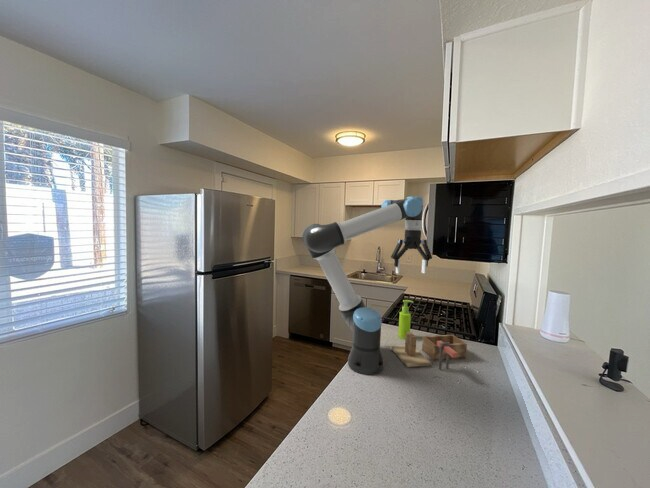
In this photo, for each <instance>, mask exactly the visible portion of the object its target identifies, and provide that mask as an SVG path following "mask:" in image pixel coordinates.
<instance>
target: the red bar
mask: <svg viewBox="0 0 650 488" xmlns="http://www.w3.org/2000/svg"><path fill="white" fill-rule="evenodd" d="M440 343H442V341H437V345H438V346H439V347H440ZM443 350H444V351H445V352H446V353H447V354H449V355H450V356H451V357H452V358H455V357H457V354H458V353H457V352H456V351H454V350H453V349H452V348H450V347H449V346H448V345H443Z"/></svg>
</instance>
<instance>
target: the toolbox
mask: <svg viewBox="0 0 650 488" xmlns="http://www.w3.org/2000/svg"><path fill="white" fill-rule="evenodd" d="M437 341H442V343H440V347H439V346H438V345H437ZM443 345H448V346H449V347H450V348H452V349H453V350H454V351H456V352H457V353H458V354H457V357H455V358H452V357H451V356H450V355H449V354H447V353H446V352H445V351H444V350H443ZM467 347H468V343H466V342H465V341H464V340H462V339H460V338H458V337H457V336H456V335H455V334H440V335H438V334H437V335H424V336H422V345H421V348H422V349H421V351H422V352H424V354H426V355H427V357H429V358H430V359H431V360H432V361H433V362H436V361H437V362H438V367H437V368H438V369H439V371H441V370H442V369H443V368H442V366H443V361H445V369H446V370H449V368H450V361H451V360H453V361H454V360H465V359H466V358H467Z"/></svg>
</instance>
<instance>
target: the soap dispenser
mask: <svg viewBox="0 0 650 488" xmlns="http://www.w3.org/2000/svg"><path fill="white" fill-rule="evenodd" d="M402 303H403V305H402V307H401V311H399V316H398V317H399V318H398V332H397V333H398V334H397V336H398V338H399V339H401V340H405V337H406V332H411V321H412V320H411V317H412V313H411V312H409V311H410V310H409V309H410V307H409V306H408V303H411V304H414V303H415V302H414V301H413V300H410V299H403V300H402Z"/></svg>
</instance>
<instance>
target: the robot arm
mask: <svg viewBox="0 0 650 488" xmlns="http://www.w3.org/2000/svg"><path fill="white" fill-rule="evenodd" d="M423 210H424V199H423V197H422V196H415V195H414V196H407V197H406V198H402V199H384V200H383V201H382V203H381V208H378V209H375V210H371V211H369V212H367V213H363V214H361V215H359V216H356V217H353V218H351V219H350V218H349V219H347V220H345V221H341V222H338V221H334V222H332V223H327V224H320V223H312V224H310V225H308V226H307V227H306V228H304V230H303V232H302V235H301V236H302V237H301V238H302V242H303V244H304V246H305V247H306V248H307V251H308V252H309V254H310V256H311V258H312V259H313V260H316V261H317V262H318V264H319V265H320V268H321V270H322V271H323V273H324V276H325V277H326V279H327V282H328V283H329V286H330V287H331V289H332V291H333V292H334V294H335V296H336V298H337V300H338V302H339V305H338V309H339V311H340V313H341V317H342V319H343V321H344V322H345V323H346V325H347V326H348V327H349V329H350V330H351V331H352V347H351V349H350V351H349V355H348V357H347V366H348V367H349V368H350V369H351V370H352V371H354V372H356V373H359V374H363V375H376V374H379V373H381V372H382V371H383V370H384V364H385V363H384V357H383V354H382V352H381V337H382V336H381V335H382V324H383V323H382V316H381V313H380V312H379V311H378V310H376V309H374V308H371V307H368V306H366V304H365V303H364V300H363V298H362V297H361V296H360V295H357V294H356V292H355V290H354V288H353V286H352V284H351V282H350V280H349V278H348V276H347V274H346V272H345V270H344V268H343V266H342V264H341V262H340V260H339V258H338V256H337V255H336V253H335V249H336V248H338V247H341V246H343V245H345V244H346V242H347V241H349V240H351V239H354V238H356V237H359V236H361V235H364V234H365V235H366V234H367V233H369V232H372V231H375V230H378V229H379V228H382V227H386V226H388V225H390V224H394V223H395V222H398V221H402V220H405V222H404V223H405V224H404V228H405V230H404V239H398V240H397V245H396V246H395V248H394V249H393V252H392V253H391V255H390V259H393V260H394V263H393V265H394V267H395V274H397V275H400V274H401V273H400V272H401V271H400V269H401V268H400V267H401V260H400V259H401V258H402V256H404V254H405V253H406V252H407V251H408V250H417V252H418V253H419V255H421V257H422V258H423V259H421V274H427V268H428V266H429V261H430V260H432V259H433V256H432V254H431V251H430V248H429V246H428V240H427V239H421V238H422V228H423V227H422V224H423ZM403 244H404V245H403ZM421 245H422V246H421ZM401 247H402V248H401ZM422 248H423V249H422Z"/></svg>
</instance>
